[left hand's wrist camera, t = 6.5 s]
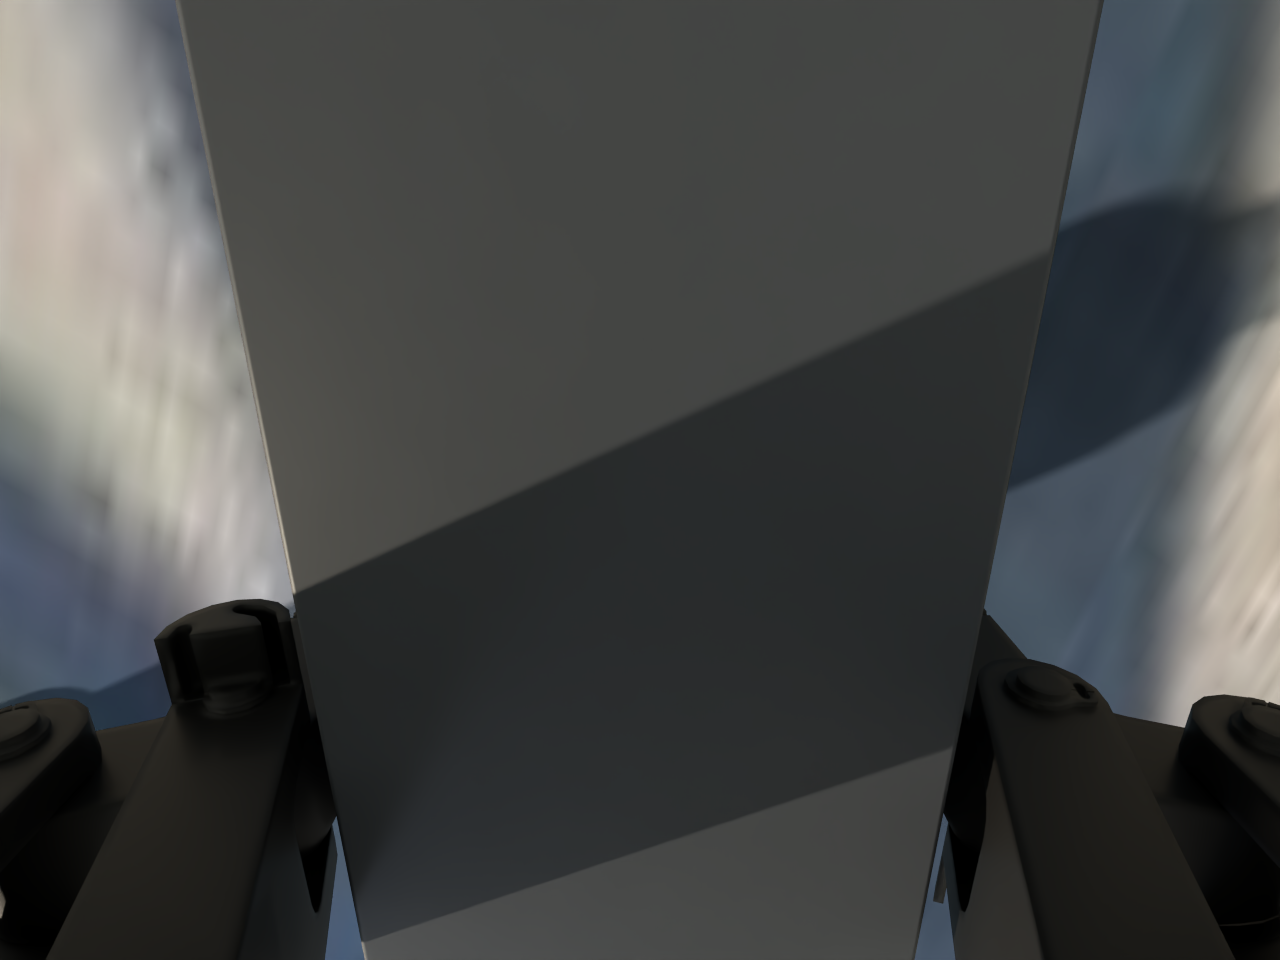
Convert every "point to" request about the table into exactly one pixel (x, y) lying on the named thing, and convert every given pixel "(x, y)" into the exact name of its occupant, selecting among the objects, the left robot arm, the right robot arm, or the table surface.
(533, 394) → the bar
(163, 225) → the table surface
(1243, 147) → the table surface
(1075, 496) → the table surface
